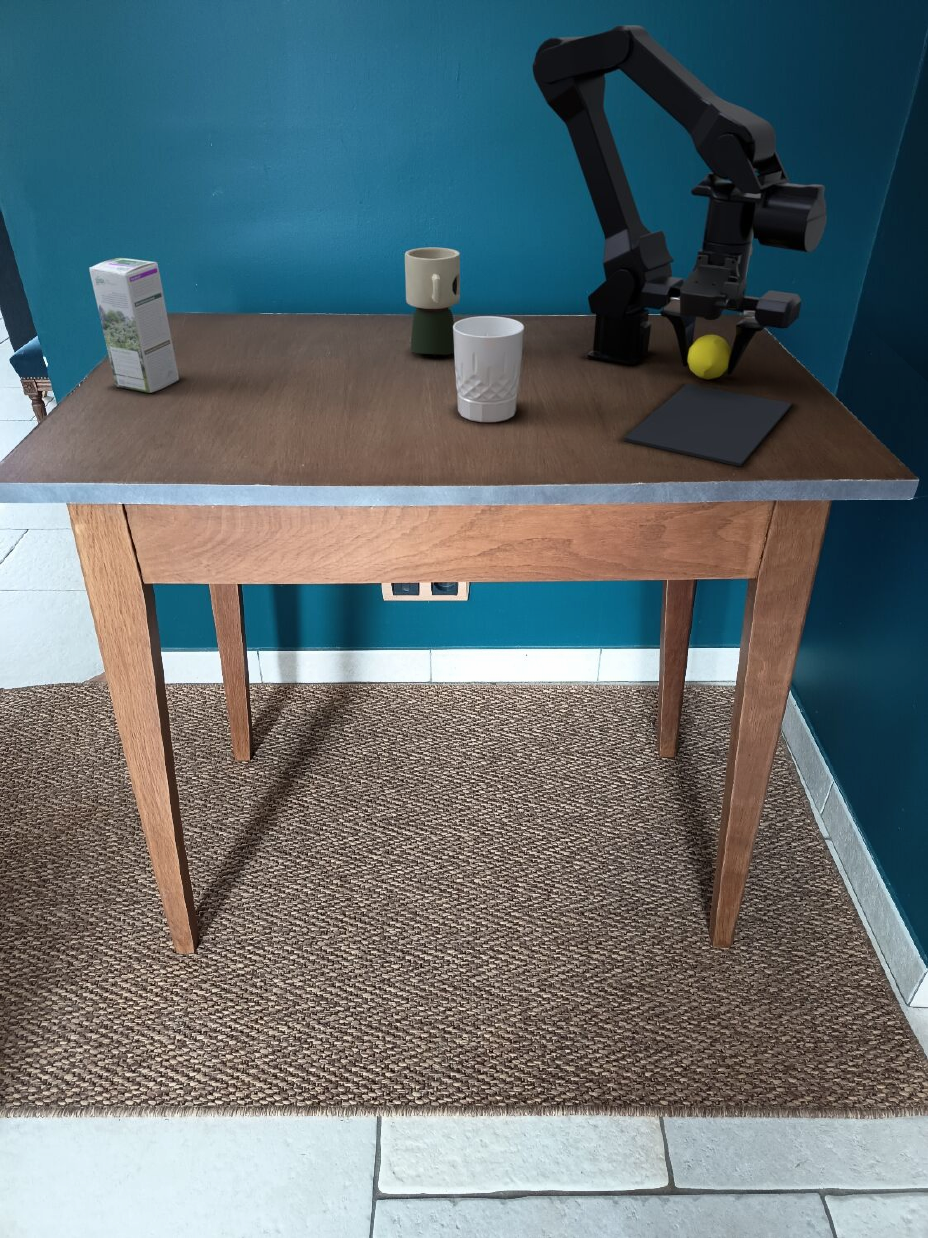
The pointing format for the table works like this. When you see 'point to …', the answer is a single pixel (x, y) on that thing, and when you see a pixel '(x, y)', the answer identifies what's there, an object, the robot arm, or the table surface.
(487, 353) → the white cup
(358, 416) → the table surface
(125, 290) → the syrup box
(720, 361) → the lemon
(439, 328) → the character mug
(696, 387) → the desk mat
